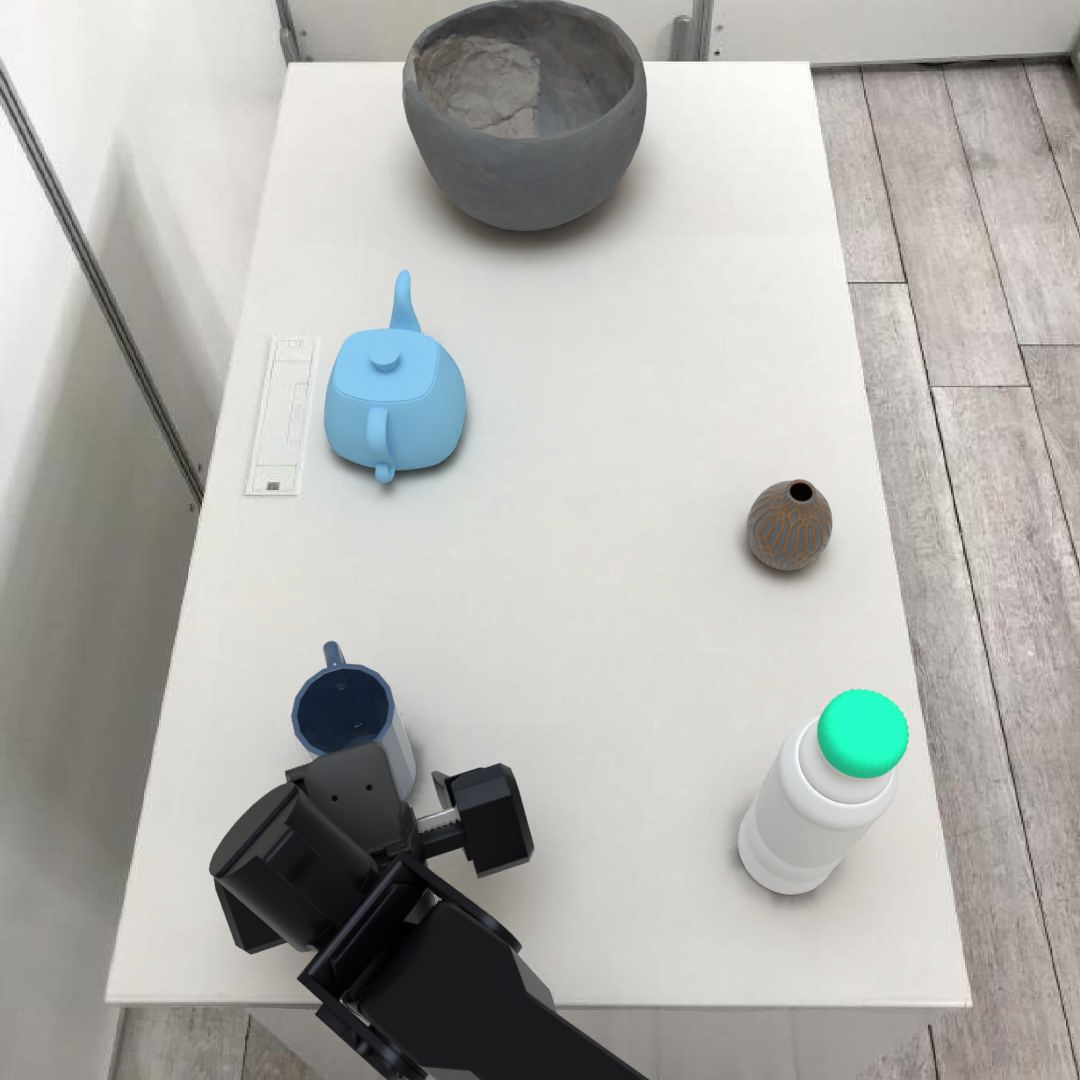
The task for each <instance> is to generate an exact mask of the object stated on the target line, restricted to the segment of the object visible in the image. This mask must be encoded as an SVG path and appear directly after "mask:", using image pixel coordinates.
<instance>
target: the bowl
mask: <svg viewBox="0 0 1080 1080" xmlns="http://www.w3.org/2000/svg"><path fill="white" fill-rule="evenodd" d="M647 83H648V82H647V75H646V70H645V66H644V61H643V59H642V56H641V54H640V51H639V50H638V47H637V46H636V44H635V43H634V41H633V40H632V39H631V38H630V36H629V35H628V34H627V33H626V32H625V31H624V30H623V29H622V27H620V25H618V24H617V23H616V22H615V21H614V20H613V19H611V18H610V17H609V16H607V15H605V14H603V13H601V12H599V11H596V10H593V9H590V8H588V7H586V6H582V5H578V4H575V3H571V2H568V1H565V0H491V1H487V2H484V3H479V4H476V5H471V6H468V7H466V8H464V9H462V10H459V11H457V12H454V13H452V14H450V15H448V16H445V17H443V18H442V19H439V20H438V21H436V22H434V23H432V24H431V25H429V26H427V27H426V28H424V30H423V31H422V32H421V33H420V34H419V35H418V36H417V37H416V39H415V40H414V41H413V43H412V45H411V47H410V49H409V50H408V54H407V56H406V60H405V62H404V64H403V68H402V88H401V89H402V91H401V92H402V93H401V98H402V103H403V109H404V114H405V119H406V122H407V125H408V128H409V130H410V132H411V135H412V138H413V139H414V142H415V145H416V147H417V149H418V152H419V155H420V156H421V158H422V161H423V162H424V164H425V165H426V168H427V171H428V172H429V174H430V176H431V178H432V179H433V181H434V182H435V184H436V185H437V186H438V188H439V189H440V190H441V192H442V193H443V194H444V195H445V196H446V197H447V199H449V200H450V201H451V202H452V203H453V204H454V205H455V206H456V207H458V209H459V210H461V211H462V212H464V213H465V214H466V215H468V216H470V217H471V218H473V219H475V220H477V221H480V222H482V223H485V224H486V225H489V226H493V227H495V228H498V229H502V230H507V231H517V232H531V231H532V232H535V231H543V230H548V229H552V228H556V227H559V226H562V225H563V224H566V223H568V222H572V221H573V220H575V219H578V218H580V217H582V216H583V215H585V214H586V213H588V212H590V211H592V210H593V209H595V208H597V206H599V205H600V204H601V203H603V202H604V201H606V199H608V197H609V196H610V195H611V194H612V192H613V191H614V190H615V189H616V187H617V186H618V185H619V183H620V181H621V180H622V179H623V177H624V175H625V173H626V171H628V168H629V166H630V164H631V163H632V161H633V158H634V156H635V155H636V152H637V150H638V148H639V146H640V142H641V139H642V136H643V133H644V129H645V124H646V123H645V122H646V116H647V107H648V106H647V105H648V85H647Z"/></svg>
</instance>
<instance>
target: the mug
mask: <svg viewBox="0 0 1080 1080" xmlns="http://www.w3.org/2000/svg"><path fill="white" fill-rule="evenodd" d="M322 653H323V657H324V661H325V666H326V667H325V668H322V669H321V670H319V671H318V672H316V673H315V674H314V675H312V676H310V678H307V680H305V682H304V683H303V685H302V686H301V687H300V689H299V691H298V692H297V694H296V695H295V696H294V701H293V705H292V708H291V709H292V710H291V714H290V719H291V723H292V728H293V733H294V735H295V737H296V739H297V741H298V743H299V745H300V746H301V748H302V749H303V751H304V753H305V755H306V756H307V758H308V759H309V761H310V763H311V762H312V761H313V760H315V759H316V758H317V757H319V756H322V755H325V754H328V753H332V752H335V751H338V750H342V749H345V748H348V747H351V746H354V745H358V744H361V743H364V742H367V741H377V742H380V743H381V744H382V745H384V746H385V748H386V749H387V752H388V755H389V758H390V762H391V766H392V769H393V773H394V776H395V780H396V783H397V787H398V791H399V794H400V798H401V800H403V801H406V800H407V799H408V797H409V796H410V794H411V793H412V791H413V789H414V785H415V782H416V777H417V763H416V760H415V757H414V753H413V750H412V747H411V744H410V741H409V737H408V735H407V731H406V729H405V726H404V723H403V720H402V717H401V715H400V712H399V708H398V705H397V702H396V700H395V697H394V693H393V691H392V687H391V685H389V683H388V682H387V681H386V680H385V679H384V678H383V676H382V675H381V674H380V673H379V672H378V671H376V670H374V669H372V668H369V667H368V666H366V665H363V664H359V663H358V664H357V663H347V662H346V658H345V656H344V654H343V651H342V649H341V646H340V644H339V643H338V642H336V641H335V640H328V641H326V642H325V643H324V644H323V646H322Z"/></svg>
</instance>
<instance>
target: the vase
mask: <svg viewBox="0 0 1080 1080" xmlns="http://www.w3.org/2000/svg"><path fill="white" fill-rule="evenodd" d="M833 523H834V522H833V513H832V510H831V506H830V505H829V502H828V500H827V498H826V497H825V496H824V494H823V493H822V492H821V491H819V489H817V488H816V487H815V486H814V484H812V483H811V482H810V481H808V480H806V479H802V478H797V479H794V480H793V479H792V480H783V481H779V482H776V483H774V484H772V485H769V487H767V488H766V489H764V490H763V491H762V492H761V493H760V494H759V495H758V496H757V497H756V499H755V500H754V502H753V503H752V505H751V507H750V509H749V512H748V515H747V519H746V537H747V541H748V544H749V547H750V549H751V550H752V553H753V554H754V556H756V557H757V558H758V560H759V561H761V562H762V564H765V565H767V566H768V567H771V568H773V569H776V570H781V571H796V570H800V569H802V568H806V567H807V566H809V565H810V564H812V563H813V562H815V561H816V560H817V559H818V558H819V557H820V556H821V555H822V554H823V552H825V550H826V548H827V546H828V544H829V542H830V539H831V536H832V533H833V527H834V526H833Z"/></svg>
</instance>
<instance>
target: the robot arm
mask: <svg viewBox="0 0 1080 1080" xmlns="http://www.w3.org/2000/svg"><path fill="white" fill-rule="evenodd" d="M430 774H431V775H430V776H431V778H432V782H433V785H434V789H435V792H436V795H437V799H438V801H439V804H440V806H441V808H442V810H439V811H437V812H434V813H431V814H427V815H425V816H421V817H419V818H416V815H415V811H414V808H413V806H410V804H409V802H408V801H406V800H405V801H403V800H401V798H400V794H399V791H398V787H397V783H396V780H395V776H394V773H393V769H392V766H391V762H390V758H389V755H388V752H387V749H386V748H385V746H384V745H382V744H381V743H380V742H377V741H367V742H364V743H361V744H358V745H354V746H351V747H348V748H345V749H342V750H338V751H335V752H332V753H328V754H325V755H322V756H319V757H317V758H316V759H315V760H313V761H312V762H311V761H310V762H308V763H305V764H302V765H299V766H295V767H292V768H290V769H286V770H285V771H284V775H285V779H286V782H285V783H282V784H280V785H278V786H275V787H274V788H272V789H271V790H269V791H268V792H266V793H265V794H264V795H263V796H261V797H260V798H259V799H257V801H256V802H254V803H253V804H252V805H251V806H250V807H249V808H247V810H246V811H245V812H244V813H243V814H241V816H240V817H239V818H238V819H237V820H236V821H235V822H234V823H233V825H232V826H231V827H230V828H229V830H228V831H227V832H226V834H225V835H224V836H223V838H222V839H221V841H220V842H219V843H218V845H217V847H216V849H215V850H214V853H213V854H212V856H211V859H210V861H209V865H208V871H209V875H210V876H212V877H213V884H214V891H215V892H216V895H217V898H218V901H219V903H220V907H221V909H222V912H223V915H224V917H225V920H226V923H227V926H228V928H229V931H230V935H231V936H232V939H233V941H234V945H235V946H236V947H237V948H238V949H241V950H242V951H243V952H245V953H247V954H248V955H250V956H252V955H256V954H258V953H261V952H264V951H267V950H270V949H273V948H275V947H279V946H282V945H285V944H289V945H290V946H291V947H292V948H293V949H294V950H296V951H298V952H299V953H310V952H311V953H312V952H317V953H315V955H314V956H313V957H312V958H311V960H310V961H309V962H308V964H306V965H305V967H304V968H303V969H302V970H301V972H300V973H299V974H298V976H297V977H296V981H298V982H299V983H300V984H301V985H302V986H303V987H304V988H306V989H307V990H308V991H309V992H310V993H311V994H313V996H315V997H316V998H317V999H318V1000H319V1001H320V1002H321V1003H322V1004H321V1005H320V1007H319V1008H318V1009H317V1010H316V1012H315V1013H314V1016H316V1018H318V1020H320V1021H321V1022H322V1023H323V1024H324V1025H325V1026H327V1028H328V1029H330V1030H331V1031H332V1033H334V1034H335V1035H336V1036H337V1037H339V1038H340V1039H341V1040H342V1041H343V1042H344V1043H345V1044H346V1045H348V1047H350V1048H351V1049H352V1050H353V1051H354V1052H355V1053H357V1054H358V1055H359V1057H360V1058H362V1059H363V1060H364V1061H365V1062H366V1063H367V1064H368V1065H369V1066H371V1067H372V1068H373V1069H374V1070H375V1071H376V1072H377V1073H378V1074H380V1075H381V1076H382V1077H383V1078H384V1079H385V1080H427V1079H428V1077H431V1078H432V1079H433V1080H650V1079H649V1078H648V1077H647V1076H645V1075H644V1074H643V1073H641V1072H639V1071H638V1070H637V1069H635V1068H634V1067H632V1066H631V1065H630V1064H629V1063H627V1062H626V1061H624V1060H623V1059H621V1058H620V1057H619V1056H617V1055H616V1054H614V1052H612V1051H610V1050H609V1049H607V1047H605V1046H603V1045H602V1044H601V1043H599V1042H598V1041H597V1040H595V1039H593V1038H592V1037H591V1036H589V1035H588V1034H586V1033H585V1032H584V1031H583V1030H581V1029H580V1028H578V1027H577V1026H575V1025H574V1024H572V1023H571V1022H570V1021H568V1019H565V1018H564V1017H563V1016H561V1015H560V1014H559V1013H558V1012H557V1008H556V1004H555V1001H554V998H553V995H552V994H553V993H552V992H551V989H550V988H549V987H548V986H547V985H546V984H545V983H544V981H543V980H541V978H540V977H539V976H538V975H537V974H536V973H535V971H533V969H532V968H531V967H530V966H529V965H528V964H527V963H526V962H525V960H523V958H522V957H521V956H520V955H519V953H520V951H521V950H522V949H523V945H522V944H521V942H520V941H519V940H518V939H517V937H516V936H515V935H514V934H513V933H512V932H511V931H510V930H509V929H508V928H506V927H505V926H504V925H503V924H502V923H500V921H499V920H497V919H496V918H495V917H494V916H493V915H491V914H490V913H488V912H487V911H486V910H485V909H483V908H482V907H481V906H479V905H478V904H477V903H475V902H474V901H472V900H471V898H469V897H467V896H466V895H465V894H463V893H462V892H461V891H459V890H458V889H457V888H455V887H454V886H453V885H451V884H450V883H448V882H447V881H446V880H445V879H443V878H442V877H440V876H439V875H438V874H437V873H435V872H434V871H433V870H432V869H430V868H429V864H428V859H431V858H435V857H437V856H441V855H443V854H447V853H450V852H453V851H456V850H459V849H461V850H462V853H463V855H464V856H465V858H466V861H467V862H472V864H473V867H474V870H475V874H476V877H477V880H480V879H483V878H485V877H488V876H491V875H494V874H497V873H501V872H503V871H507V870H509V869H513V868H516V867H518V866H522V865H524V864H527V863H530V860H531V858H532V856H533V854H534V852H535V849H536V848H535V844H534V839H533V836H532V833H531V828H530V826H529V821H528V818H527V813H526V811H525V807H524V802H523V799H522V795H521V792H520V789H519V786H518V782H517V779H516V777H515V775H514V772H513V769H512V768H511V767H510V766H508V765H507V764H506V765H505V764H504V763H502V762H498V763H495V764H492V765H488V766H485V767H483V766H481V767H476V768H473V769H470V770H467V771H463V772H460V773H457V774H453V775H451V776H449V775H447V774H445V773H443V772H441V771H438V770H434V771H431V772H430ZM436 897H437V898H438V899H439V900H438V901H436ZM361 1019H362V1020H361ZM363 1020H364V1021H365V1022H364V1021H363ZM366 1023H368V1024H369V1025H367V1024H366Z"/></svg>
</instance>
